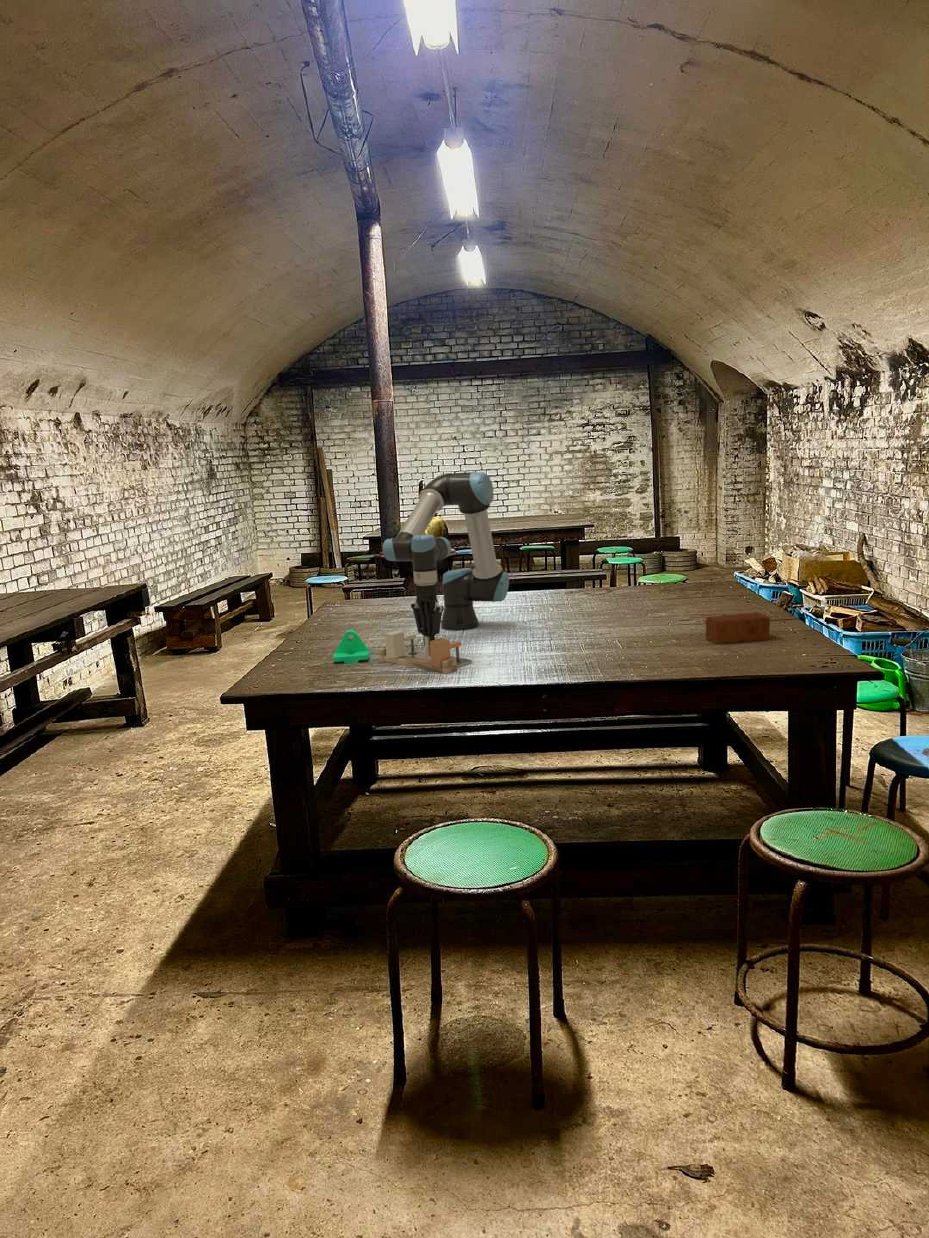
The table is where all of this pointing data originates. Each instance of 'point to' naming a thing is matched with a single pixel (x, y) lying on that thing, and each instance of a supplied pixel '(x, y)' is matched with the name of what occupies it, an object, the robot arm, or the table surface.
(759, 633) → the brick
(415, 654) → the hole plate
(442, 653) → the slider leg
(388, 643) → the fixed leg
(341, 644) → the camera mount
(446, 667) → the rail
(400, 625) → the table surface
